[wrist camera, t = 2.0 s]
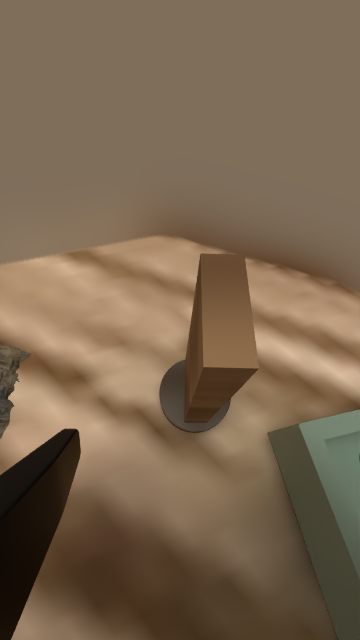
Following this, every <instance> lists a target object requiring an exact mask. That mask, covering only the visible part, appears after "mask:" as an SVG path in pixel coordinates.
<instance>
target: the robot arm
mask: <svg viewBox="0 0 360 640" xmlns="http://www.w3.org/2000/svg"><path fill="white" fill-rule="evenodd" d="M80 454H81V448H80V438H79V431H78V430H77V429H63V430H62V431H60V432H59V433H58V434H56V435H55V436H53V437H52V438H51V439H49V440H48V441H47V442H45V443H44V444H42V445H41V446H40V447H38V448H37V449H36V450H34V451H33V452H31V453H30V454H29V455H27V456H26V457H25V458H23V459H22V460H20V461H19V462H18V463H16V464H15V465H14V466H12V467H11V468H9V469H8V470H7V471H5V472H4V473H3V474H1V475H0V640H11V638H12V636H13V634H14V631H15V629H16V626H17V624H18V621H19V619H20V617H21V614H22V612H23V609H24V607H25V604H26V602H27V600H28V597H29V595H30V592H31V590H32V587H33V585H34V583H35V580H36V578H37V575H38V573H39V570H40V568H41V566H42V563H43V561H44V558H45V556H46V553H47V551H48V549H49V546H50V544H51V541H52V539H53V536H54V534H55V532H56V529H57V527H58V524H59V522H60V519H61V517H62V514H63V511H64V508H65V505H66V502H67V499H68V495H69V492H70V489H71V485H72V482H73V479H74V476H75V472H76V469H77V466H78V462H79V459H80ZM359 460H360V455H359Z"/></svg>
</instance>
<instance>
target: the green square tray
mask: <svg viewBox="0 0 360 640" xmlns="http://www.w3.org/2000/svg"><path fill="white" fill-rule="evenodd" d="M268 434H269V437H270V440H271V443H272V446H273V449H274V452H275V455H276V458H277V461H278V464H279V467H280V470H281V473H282V476H283V479H284V482H285V485H286V488H287V490H288V493H289V496H290V499H291V502H292V505H293V508H294V511H295V514H296V517H297V520H298V523H299V526H300V529H301V532H302V535H303V538H304V541H305V544H306V547H307V549H308V552H309V555H310V558H311V561H312V564H313V567H314V570H315V573H316V576H317V579H318V582H319V585H320V588H321V591H322V594H323V597H324V600H325V603H326V605H327V608H328V611H329V614H330V617H331V620H332V623H333V626H334V629H335V632H336V635H337V638H338V640H360V460H359V455H360V409H359V410H355V411H351V412H347V413H342V414H338V415H334V416H330V417H325V418H321V419H317V420H313V421H309V422H304V423H300V424H296V425H293V426H289V427H286V428H282V429H279V430H275V431H272V432H268Z"/></svg>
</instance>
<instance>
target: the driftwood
mask: <svg viewBox="0 0 360 640" xmlns="http://www.w3.org/2000/svg"><path fill="white" fill-rule="evenodd" d="M30 355H31V354H29V353H26V352H24V351H21V350H19V349H16V348H15V347H12V346H6V345H5V346H4V345H0V438H1V436H2V434H3V432H4V430H5V428H6V427H7V426H8V424H9V422H10V411H11V408H12V407H14V405H13V403H12V402H11V401H10V400H8V396H9V395H10V394H11V393H12V392H13V391H14V384H15V382H16V381H18V382H19V380H18V379H17V377H18V373H16V370H17V369H18V368H19V362H22V361H24V360H25V359H27V358H29V356H30Z"/></svg>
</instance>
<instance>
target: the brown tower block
mask: <svg viewBox="0 0 360 640" xmlns="http://www.w3.org/2000/svg"><path fill="white" fill-rule="evenodd" d="M258 369H259V365H258V357H257V349H256V342H255V334H254V326H253V318H252V310H251V303H250V295H249V287H248V279H247V271H246V263H245V256H244V255H228V254H200V261H199V268H198V275H197V283H196V290H195V297H194V304H193V311H192V318H191V325H190V332H189V339H188V346H187V353H186V360H182V361H180V362H178V363H176V364H175V365H173V366H172V367H171V368H170V369H169V370H168V371H167V372H166V374H165V375H164V377H163V379H162V382H161V386H160V402H161V406H162V409H163V412H164V414H165V416H166V417H167V419H168V420H169V421H170V422H171V423H172V424H173V425H174V426H176V427H177V428H179V429H181V430H184V431H187V432H194V433H195V432H203V431H206V430H209V429H211V428H212V427H214V426H215V425H216V424H218V423H219V422H220V421H221V420H222V419H223V418H224V416H225V415H226V413H227V411H228V409H229V406H230V401H231V397H232V396H233V395H234V394H235V393H236V392H237V391H238V390H239V389H240V388H241V387H242V386H243V385H244V384H245V383H246V382H247V380H248V379H249V378H250V377H251V376H252V375H253V374H254V373H255V372H256V371H257V370H258Z"/></svg>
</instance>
